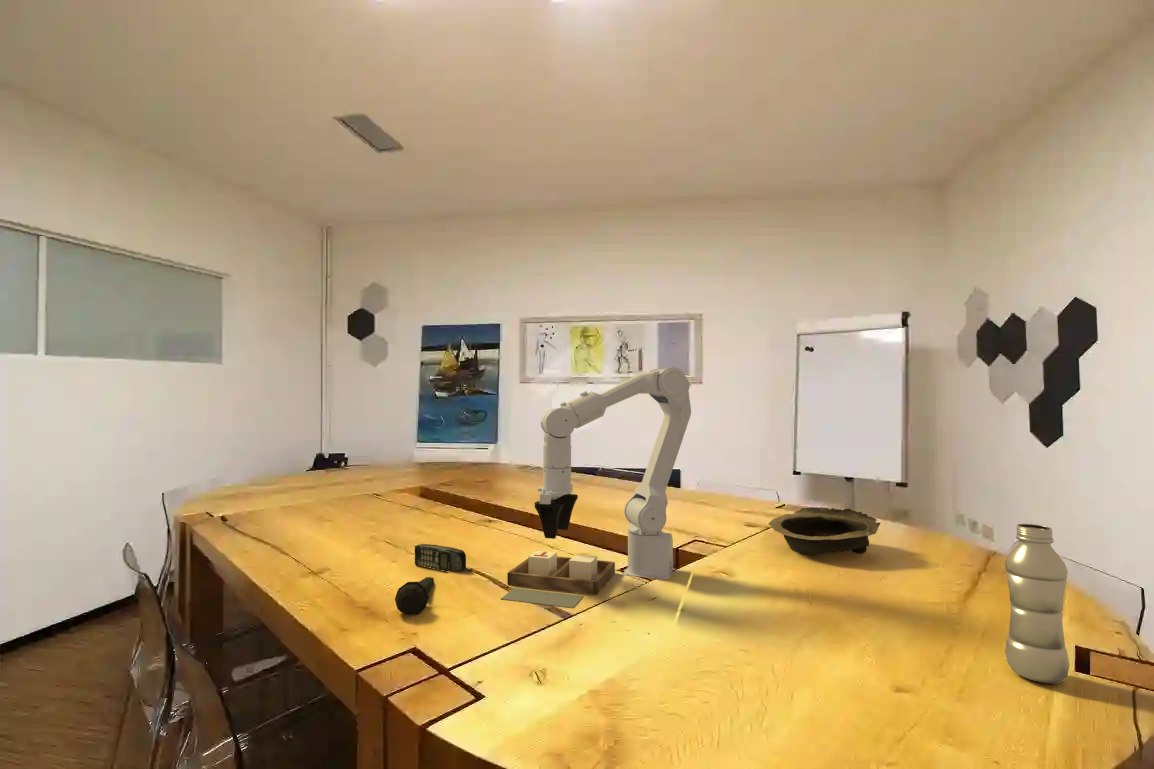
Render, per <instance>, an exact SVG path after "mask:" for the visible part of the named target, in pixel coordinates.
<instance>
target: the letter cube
mask: <svg viewBox="0 0 1154 769" xmlns="http://www.w3.org/2000/svg"><path fill="white" fill-rule="evenodd" d="M557 554H558V553H557V552H555V551H545V550H544V551H543V550H536V551H534V552H532V553H531V554H530V555H528V558H527V559H528V574H536V575H545V576H551V575H552V574H554V573H555V572H556V571H557V556H558V555H557Z"/></svg>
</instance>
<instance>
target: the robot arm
mask: <svg viewBox="0 0 1154 769" xmlns="http://www.w3.org/2000/svg"><path fill="white" fill-rule="evenodd" d="M690 388H691V383H690V381H689V379H688V378H687V376H686V374H685V373H684V372H683V370H681V369H680V368H679V367H676V366H669V367H667V368H661V369H659V368H656V369H651V370H650V371H648V372H643V373H639V374H637V375H634V376H633V377H630V378H629V379H626V380H625V381H623V382H621V383H619V384H617V385H615V386H613V387H612V388H608V389H607V390H605V391H604V392H601V393H598V392H594V391H590V392H588V391H582V392H581V393H579V395H580V396H579V397H577V398H575V399H573V400H570V401H568V402H565V401H562V402H561V403H559V406H560V407H558V408H551V409H549V410H548V411H546V412H545V413H544V415H543V417H541V418H542V419H541V421H540V427H541V429H542V431H543V434H544V436H543V440H544V441H543V445H542V446H543V456H542V457H543V461H542V462H543V468H542V471H543V472H542V473H543V476H542V478H543V479H542V482H543V483H542V486H539V487H537V491H538V492H541V493H539V500H537V501H535V502H534V508H535V510H536V513H537V514H538V517H539V518H540V523H541V527H542V531H543V536H544V538H545V539H550V540H552V539H553V540H554V539H556V538H557V534H558V530H560V531H562V530H563V531H567V530H568V529H569V527H570V522H571V517H572V513H573V509H574V506H575V504H576V502H577V501H578V497H579V496H578V494H575V493H573V483H572V443H571V441H572V437H571V436H572V435H571V434H572V433H574V430H576V429H579V428H581V427H584V426H586V425H587V424H590V423H592V422H593V421H596V420H598V419H600V418H603V417H604V415H605V413H606V410H607V408H609V407H611V406H613V405H615V404H618V403H620V402H622V401H623V402H624V401H625V400H627V399H630V398H631V397H634V396H636V395H639V394H641V395H643V394H645V395H647V394H648V395H649V396H650V397H651V398H652V399H654V401H656V403H657V404H658V405H659V407H660V409H661V410H662V412H663V415H664V416H663V419H662V422H661V424H660V427H659V430H658V433H657V437H656V440H655V443H654V446H653V448H652V451H651V455H650V457H649V460H648V463H647V465H646V469H645V472H644V474H643V477H642V481H641V482H640V484H638V486H636V488H635V489H634V491H633V493H632V496H631V497H629V499H628V500H627V501H626V503H625V504H624V508H623V512H624V513H623V514H624V516H625V519H626V520H627V522H629V524H628V527H627V568H625V570H624V571H623V573H622V575H623V576H627V577H636V578H638V577H639V578H648V579H657V580H669V579H670V576H671V575H672V572H673V570H674V555H673V554H674V546H673V545H674V544H673V543H674V542H673V541H674V540H673V539H674V538H673V534H672V533H670V532H665V531H663V529H664V527H665V526H666V523H667V506H668V503H669V502H668V498H667V492H666V489H667V487H668V484H669V481H670V478H671V475H672V472H673V469H674V467H675V463H676V460H677V457H678V455H679V452H680V448H681V446H682V442H683V439H684V436H685V433H686V430H687V428H688V427H687V426H688V424H689V422H690V419H691V415H692V408H691V406H692V405H691V399H690V392H689V390H690Z"/></svg>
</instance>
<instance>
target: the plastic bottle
mask: <svg viewBox="0 0 1154 769" xmlns="http://www.w3.org/2000/svg"><path fill="white" fill-rule="evenodd" d="M1015 538H1016V539H1017V540H1018V543H1017V544H1016V545H1015V546H1013V548H1011V550H1010V551H1009V553H1008V554H1007V555H1006V557H1005V560H1004V567H1005V568H1004V569H1005V573H1006V578H1007V585H1008V591H1009V602H1010V619H1009V627H1008V629H1009V630H1008V635H1007V639H1006V642H1005V643H1006V644H1005V649H1004V653H1005V657H1006V663H1007V664H1008V666H1009V667H1010V669H1011V670H1012V671H1013V672H1014V673H1015V674H1017V675H1019V676H1020V677H1023V678H1025V679H1028V680H1031V681H1034V682H1039V683H1045V684H1060V683H1062V682H1063V681H1064V680H1066V678H1067V677H1068V675H1069V670H1070V666H1071V665H1070V659H1069V654H1068V651H1067V647H1066V642H1065V632H1064V626H1063V615H1064V614H1063V610H1064V596H1065V591H1066V586H1067V579H1068V573H1069V572H1068V568H1067V565H1066V564H1065V562H1064V560H1063V559H1062V558H1061V556H1060V555H1059V554H1058V553H1057V552H1056V551H1055V549H1054V548H1053V547H1052V545H1051V544H1053V543H1054V538H1053V528H1052V527H1049V526H1046V525H1041V524H1035V523H1018V524H1016V534H1015Z"/></svg>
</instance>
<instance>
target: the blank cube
mask: <svg viewBox="0 0 1154 769" xmlns="http://www.w3.org/2000/svg"><path fill="white" fill-rule="evenodd" d="M570 558H571V559H570V560H569V578H573V579H583V580H592V581H594V580H595V579H596V578H597V560H598V556H597V555H589V554H588V555H587V554H579V553H578V554H577V553H576V554H575V555H574V556H572V557H570Z"/></svg>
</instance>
